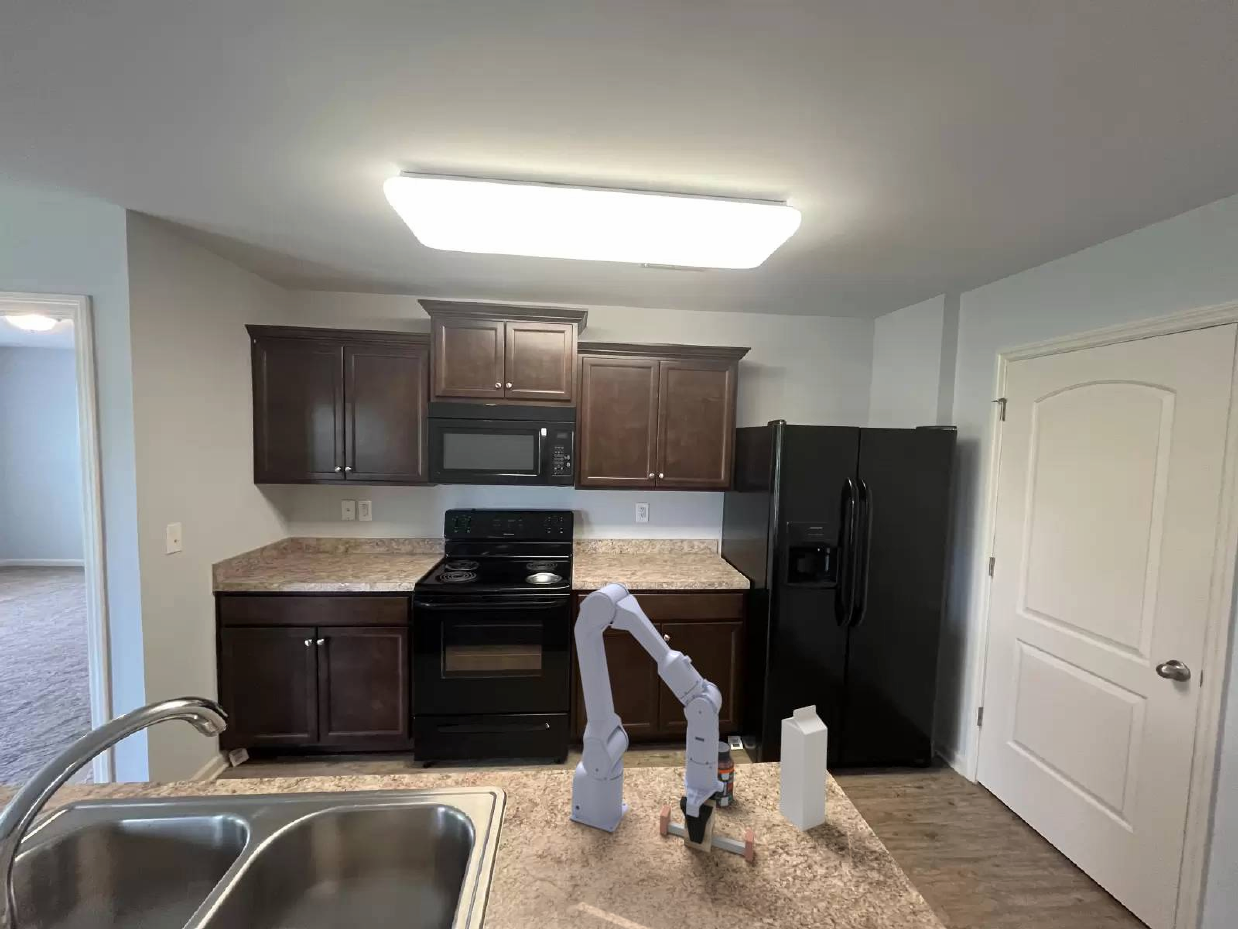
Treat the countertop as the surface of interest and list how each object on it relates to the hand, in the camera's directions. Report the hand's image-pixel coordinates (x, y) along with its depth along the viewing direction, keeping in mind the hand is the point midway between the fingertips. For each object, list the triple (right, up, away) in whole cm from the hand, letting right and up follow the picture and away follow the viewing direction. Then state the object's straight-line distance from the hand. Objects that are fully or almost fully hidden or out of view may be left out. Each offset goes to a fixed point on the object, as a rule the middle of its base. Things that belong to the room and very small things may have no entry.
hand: (699, 831), depth 89 cm
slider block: (0, -2, 0) cm, 2 cm away
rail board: (+1, -2, 0) cm, 3 cm away
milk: (+21, -3, +7) cm, 22 cm away
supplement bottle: (+6, -3, +12) cm, 13 cm away
